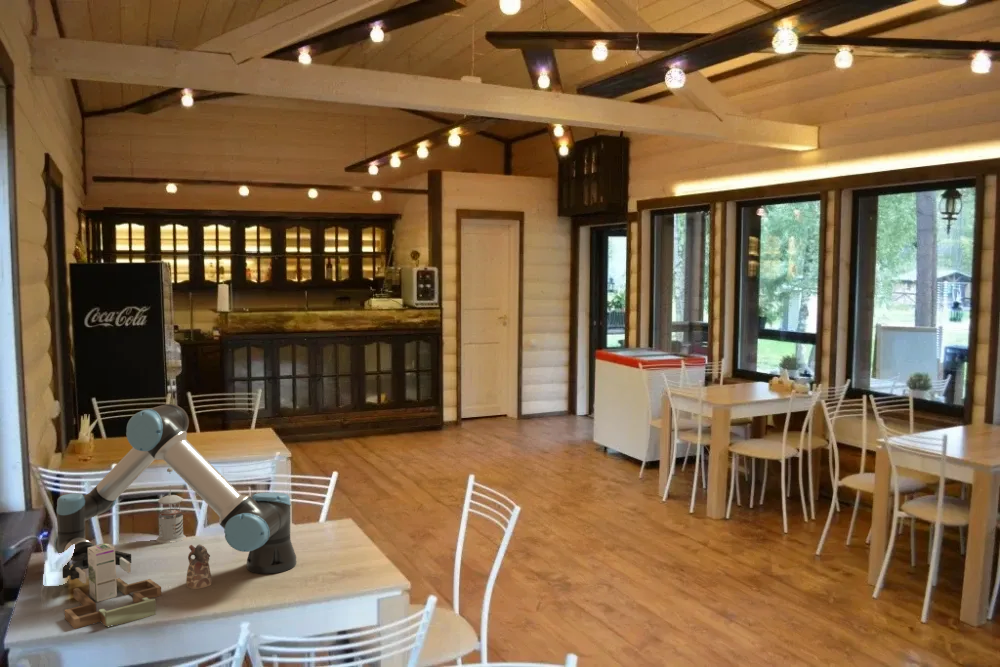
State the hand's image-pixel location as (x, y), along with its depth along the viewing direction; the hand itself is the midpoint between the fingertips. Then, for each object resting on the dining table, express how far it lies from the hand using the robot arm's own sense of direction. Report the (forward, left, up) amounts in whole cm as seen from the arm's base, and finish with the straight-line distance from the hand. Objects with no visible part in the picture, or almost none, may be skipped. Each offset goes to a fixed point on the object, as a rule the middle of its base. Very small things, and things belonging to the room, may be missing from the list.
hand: (107, 573), depth 223 cm
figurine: (-16, -18, -8) cm, 26 cm away
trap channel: (-3, +2, -8) cm, 9 cm away
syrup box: (+4, -2, -8) cm, 9 cm away
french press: (+20, -52, -8) cm, 56 cm away
